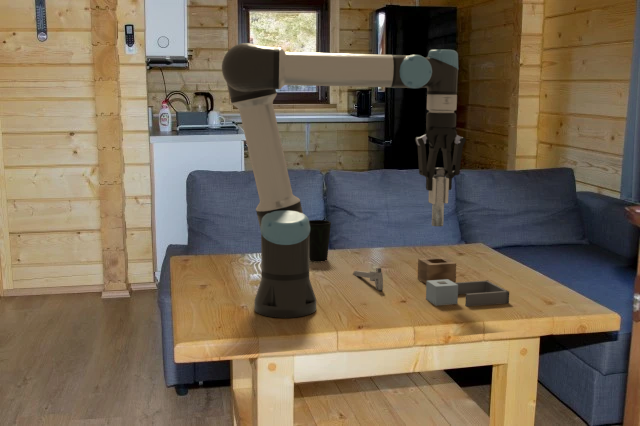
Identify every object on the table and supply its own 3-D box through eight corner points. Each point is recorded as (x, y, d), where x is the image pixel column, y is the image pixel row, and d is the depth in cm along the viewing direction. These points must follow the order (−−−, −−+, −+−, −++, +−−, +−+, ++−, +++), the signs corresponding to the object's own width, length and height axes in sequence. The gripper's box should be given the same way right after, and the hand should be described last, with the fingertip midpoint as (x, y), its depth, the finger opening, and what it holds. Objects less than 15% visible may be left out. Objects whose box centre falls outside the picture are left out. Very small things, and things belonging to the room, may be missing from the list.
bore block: (428, 286, 210) (429, 265, 209) (417, 279, 218) (418, 258, 217) (455, 284, 212) (456, 263, 211) (443, 277, 220) (444, 257, 219)
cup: (335, 258, 242) (335, 221, 240) (322, 263, 235) (322, 225, 233) (314, 255, 246) (314, 219, 244) (301, 260, 239) (301, 222, 237)
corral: (466, 306, 191) (467, 294, 190) (447, 294, 202) (447, 283, 201) (508, 303, 194) (509, 291, 193) (487, 291, 205) (487, 280, 204)
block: (435, 305, 191) (436, 286, 191) (425, 299, 197) (426, 280, 196) (457, 304, 193) (458, 284, 192) (447, 298, 199) (448, 278, 198)
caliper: (383, 292, 204) (383, 269, 203) (379, 292, 204) (379, 269, 203) (355, 274, 224) (356, 253, 223) (352, 274, 223) (352, 253, 222)
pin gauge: (434, 226, 198) (436, 168, 196) (429, 224, 201) (431, 167, 199) (445, 226, 199) (447, 168, 197) (440, 224, 202) (442, 167, 200)
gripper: (418, 112, 190) (415, 205, 193) (476, 112, 194) (472, 204, 198) (406, 111, 197) (404, 201, 201) (463, 111, 201) (459, 199, 205)
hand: (438, 202), depth 199 cm, fingers closed on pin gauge, 3 cm apart
